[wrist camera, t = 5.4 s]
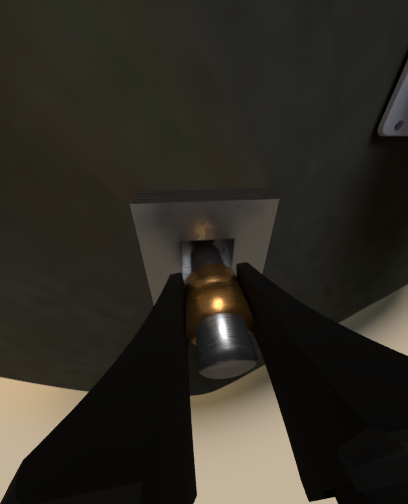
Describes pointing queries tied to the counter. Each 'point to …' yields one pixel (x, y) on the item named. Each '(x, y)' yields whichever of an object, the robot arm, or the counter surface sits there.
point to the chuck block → (201, 229)
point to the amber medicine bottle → (218, 316)
